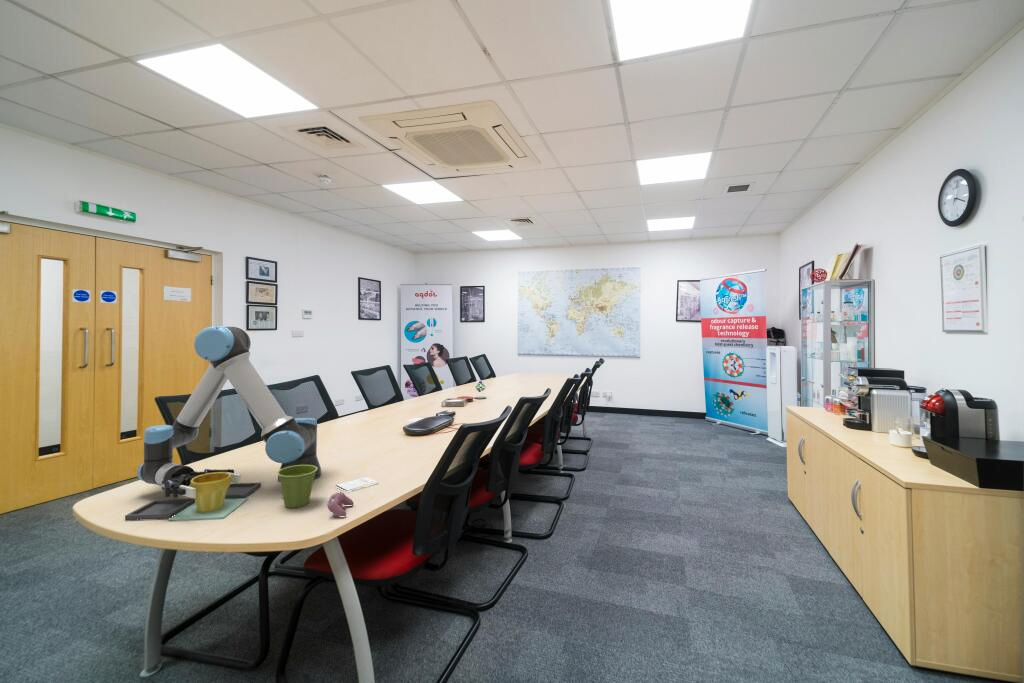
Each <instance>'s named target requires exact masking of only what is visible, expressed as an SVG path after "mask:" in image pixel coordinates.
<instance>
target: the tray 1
mask: <svg viewBox="0 0 1024 683" xmlns="http://www.w3.org/2000/svg"><path fill="white" fill-rule="evenodd" d="M194 503H195V498H178V499H177V498H172V499H170V498H169V499H153V500H151V501H150V502H148V503H146V504H144V505H143V506H140V507H139V508H137V509H135V510H133V511H131V512H129V513H127V514H125V515H124V521H125V520H131V521H141V520H140V519H157V520H165V519H164V518H171V517H172V516H174V515H176V514H178V513H179V512H181V511H182V510H184V509H186V508H187V507H189V506H190V505H192V504H194ZM137 519H138V520H137Z"/></svg>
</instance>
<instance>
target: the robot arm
mask: <svg viewBox="0 0 1024 683" xmlns="http://www.w3.org/2000/svg"><path fill="white" fill-rule="evenodd" d="M193 346H194V351H195V352H196V354H197V355H198V356H199V357H200V358H202V359H204V360H206V361H209V363H210V364H209V366H208V367H207V369H206V370H205V372H204V374H203V375H202V377H201V379H200V380H199V382H198V383H197V385H196V387H195V388H194V390H193V391H192V392H191V395H190V396H189V398H188V400H187V401H186V403H185V404H184V406H183V408H182V409H181V411H180V412H179V414H178V416H177V417H176V419H175V420H174V422H173V423H172V425H170V424H161V425H160V424H159V425H153V426H149V427H147V428H146V429H145V430H144V436H143V437H144V438H143V462H142V463H141V464H140V465H139V467H138V469H137V471H136V475H137V478H138V479H139V480H141V481H142V482H144V483H146V484H149V485H156V486H160V487H161V490H163V491H164V498H168V497H169V498H170V497H171V495H172V499H177V498H178V497H179V496H182V497H187V498H189V499H195V497H196V488H192V487H190V483H191V480H192V479H193V478H194V477H196V476H199V475H203V474H207V473H214V472H226V473H229V474H231V483H237V484H239V483H241V474H238V473H235V470H234V469H233V468H232V469H230V468H228V469H208V468H206V469H203V471H197V470H194V468H192V467H191V466H189V465H183V464H179V463H174V462H173V457H174V449H176V448H179V447H182V446H183V445H186V444H190V443H191V442H192V441H194V440H195V439H196V438H197V437H198V435H199V427H200V425H202V424H201V423H202V422H203V421H204V418H206V416H207V414H208V412H209V411H210V409H211V407H212V406H213V405H214V403H215V401H216V400H217V397H218V396H219V395H220V393H221V391H222V390H223V388H224V387H225V385H226V384H227V381H229V383H230V384H231V386H232V387H233V388H234V390H235V392H236V393H237V394H238V396H239V397H240V398H241V400H242V401H243V403H244V405H245V406H246V407H247V409H248V411H249V413H251V415H252V416H253V418H254V419H255V421H256V422H257V424H258V425H259V426H260V428H261V435H260V436H261V438H262V439H263V440H262V441H264V443H265V446H264V447H265V449H264V451H265V453H266V456H267V457H268V458H269V459H270V460H271V461H273V462H275V463H279V464H280V467H279V470H280V469H283V468H286V467H290V466H295V465H313V466H316V467H317V468H318V469H317V471H316V472H315V477H314V478H316V477H318V476H319V477H320V476H321V475H322V467H321V464H320V461H319V458H318V456H317V450H318V449H317V448H318V443H317V442H318V421H317V419H316V418H314V417H298V418H297V417H296V418H295V417H294V416H290V415H287V414H286V412H285V411H284V409H283V408H282V407H281V405H280V404H279V402H278V401H277V399H276V398H275V396H274V395H273V394H272V392H271V391H270V389H269V387H268V386H267V384H266V383H265V381H264V380H263V379H262V377H261V376H260V374H259V373H258V371H257V370H256V368H255V367H254V365H253V364H252V362H251V361H250V356H251V352H250V348H251V338H250V336H249V335H248V333H247V332H246V331H245V330H244V329H243V328H239V327H237V326H223V325H213V326H207V327H205V328H203V329H201V330H200V331H199V332H198V333H197V335H196V336H195V339H194V345H193ZM319 477H318V478H319ZM316 479H317V478H316ZM278 480H279V481H278ZM277 481H278V482H280V478H279V475H278V474H277Z"/></svg>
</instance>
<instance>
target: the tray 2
mask: <svg viewBox="0 0 1024 683" xmlns="http://www.w3.org/2000/svg"><path fill="white" fill-rule="evenodd" d="M260 486H262V483H261V482H240V483H239V484H237V483H233V482H231V484H230V486H229V487H228V489H227V493H226V496H225V499H239V498H248V497H249V496H251V493H252V494H253V493H254V492H256V491H257V490H259V489H260V488H261V487H260ZM259 487H260V488H259ZM255 490H256V491H255ZM247 496H248V497H247Z"/></svg>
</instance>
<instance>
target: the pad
mask: <svg viewBox="0 0 1024 683" xmlns="http://www.w3.org/2000/svg"><path fill="white" fill-rule="evenodd" d="M248 500H249V497H246V498H239V499H225V500H224V504H223V506H222V507H221V508H220V509H218V510H215V511H210V512H199V511H198V510H197V507H196V502H195V503H194V504H192V505H190V506H189V507H187V508H186V509H184V510H182V511H181V512H179V513H178V514H176V515H175V516H173V517H171V518H170V519H167V521H168V520H183V521H200V520H201V521H202V520H204V519H208V520H223V519H225V518H226V517H227V515H228V516H230V514H232V513H233V512H234V511H235V509H236V510H237V509H238V508H239V507H241V506H243V504H245V503H246V502H248ZM244 502H245V503H244Z"/></svg>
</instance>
